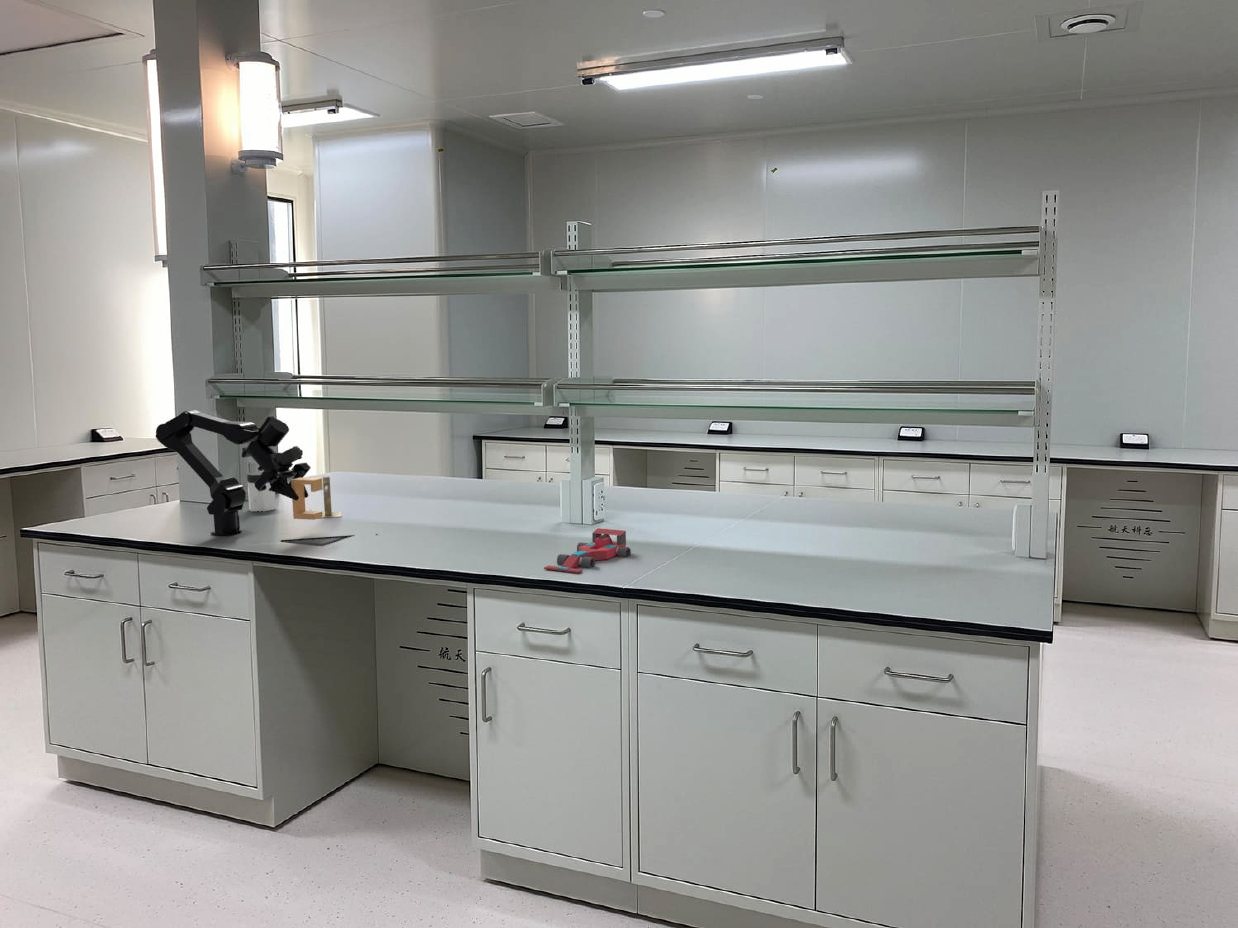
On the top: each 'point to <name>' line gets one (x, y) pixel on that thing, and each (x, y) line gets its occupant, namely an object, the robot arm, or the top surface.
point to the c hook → (299, 505)
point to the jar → (259, 495)
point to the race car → (594, 551)
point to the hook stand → (328, 500)
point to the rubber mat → (316, 540)
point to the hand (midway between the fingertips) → (302, 498)
